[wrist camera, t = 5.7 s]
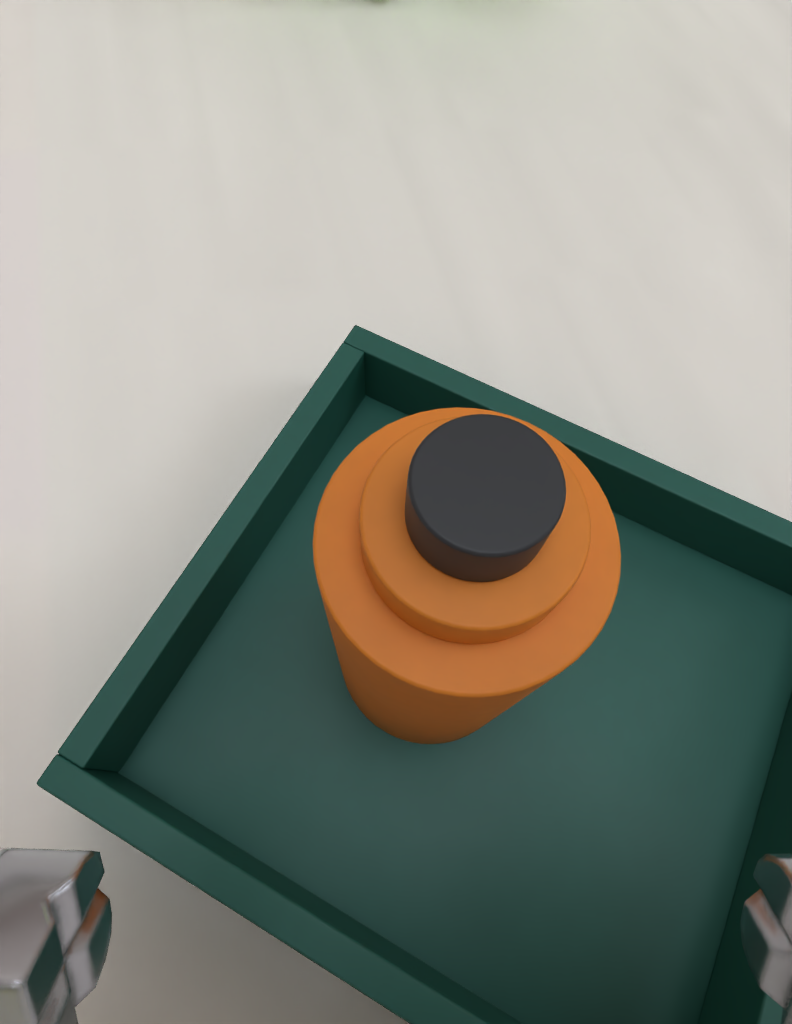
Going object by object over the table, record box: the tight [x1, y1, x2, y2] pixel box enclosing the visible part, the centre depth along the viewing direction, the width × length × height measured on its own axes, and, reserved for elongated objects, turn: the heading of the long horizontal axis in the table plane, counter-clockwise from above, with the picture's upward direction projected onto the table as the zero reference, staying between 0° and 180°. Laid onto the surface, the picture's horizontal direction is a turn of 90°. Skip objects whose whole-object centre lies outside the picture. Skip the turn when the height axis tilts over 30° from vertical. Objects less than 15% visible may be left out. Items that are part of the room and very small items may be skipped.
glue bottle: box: [313, 407, 621, 744], centre depth 15 cm, size 5×5×12 cm
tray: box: [37, 325, 792, 1024], centre depth 19 cm, size 16×18×3 cm
